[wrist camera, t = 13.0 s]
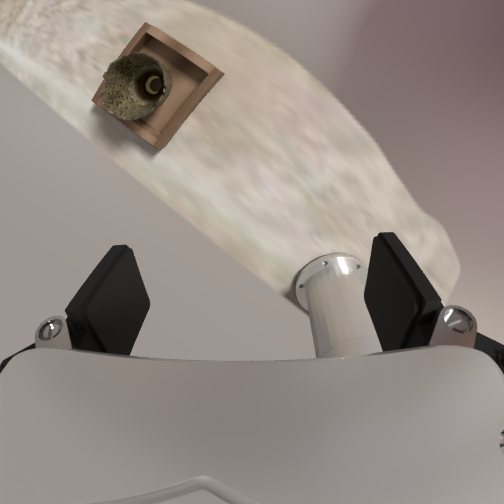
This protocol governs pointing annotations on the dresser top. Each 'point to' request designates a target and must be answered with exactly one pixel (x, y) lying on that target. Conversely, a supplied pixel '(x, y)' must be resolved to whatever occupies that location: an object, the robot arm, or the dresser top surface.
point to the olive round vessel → (135, 86)
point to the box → (183, 84)
